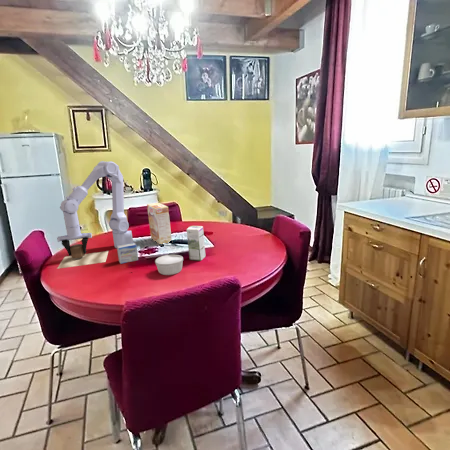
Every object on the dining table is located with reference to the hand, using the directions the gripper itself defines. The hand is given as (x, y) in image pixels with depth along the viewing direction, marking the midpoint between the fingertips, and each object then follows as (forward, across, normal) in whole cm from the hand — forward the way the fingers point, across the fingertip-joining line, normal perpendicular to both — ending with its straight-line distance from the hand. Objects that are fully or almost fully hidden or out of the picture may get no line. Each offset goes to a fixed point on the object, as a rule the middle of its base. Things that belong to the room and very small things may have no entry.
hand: (77, 254), depth 156 cm
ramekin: (+4, -40, +29) cm, 50 cm away
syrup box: (+4, -53, +19) cm, 56 cm away
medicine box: (+4, -23, +13) cm, 27 cm away
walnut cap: (+1, 0, 0) cm, 1 cm away
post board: (+3, -3, +3) cm, 5 cm away
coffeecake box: (+4, -39, -16) cm, 42 cm away
